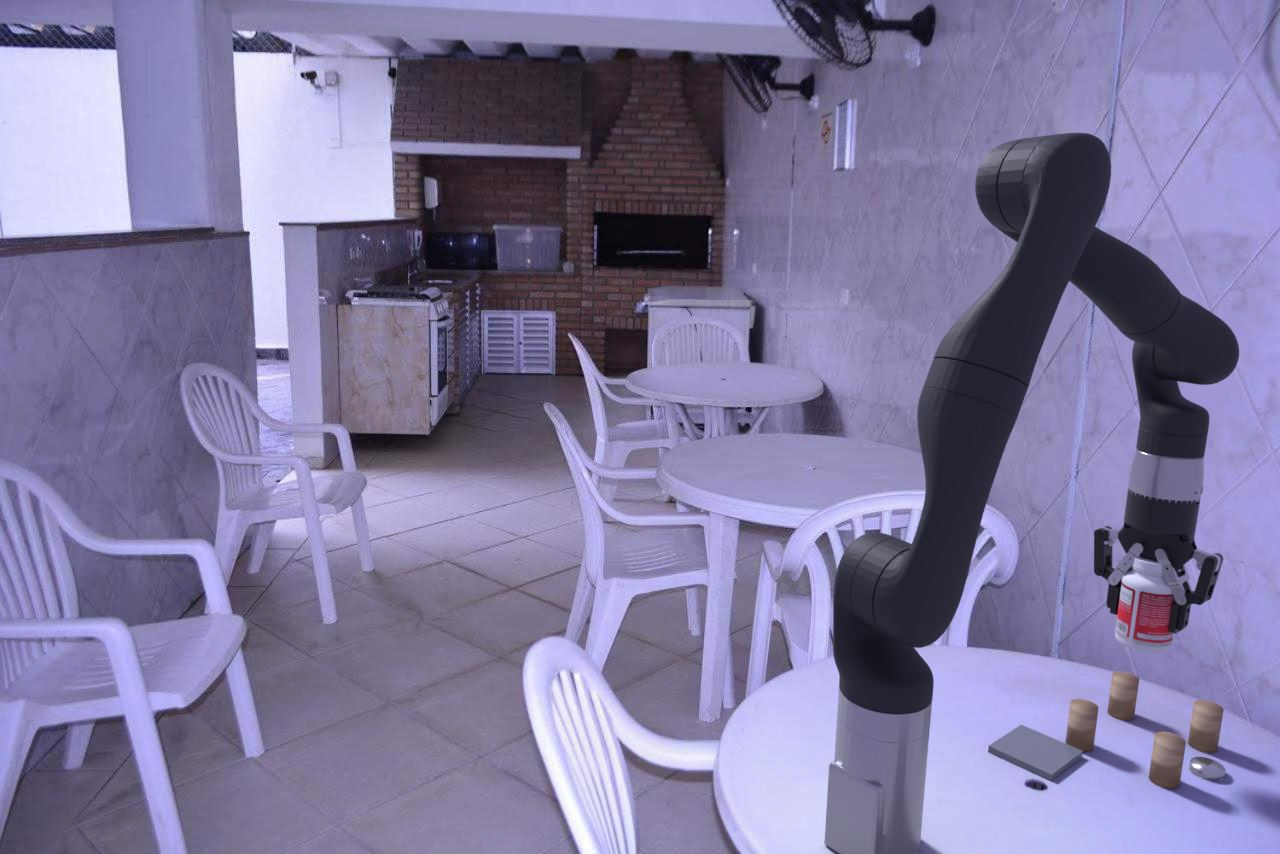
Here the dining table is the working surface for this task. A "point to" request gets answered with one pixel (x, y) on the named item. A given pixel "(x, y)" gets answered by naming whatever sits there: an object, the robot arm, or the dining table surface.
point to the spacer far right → (1123, 695)
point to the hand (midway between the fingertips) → (1145, 621)
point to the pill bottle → (1145, 608)
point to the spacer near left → (1167, 760)
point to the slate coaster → (1035, 752)
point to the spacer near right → (1082, 724)
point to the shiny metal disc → (1207, 768)
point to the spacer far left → (1205, 726)
